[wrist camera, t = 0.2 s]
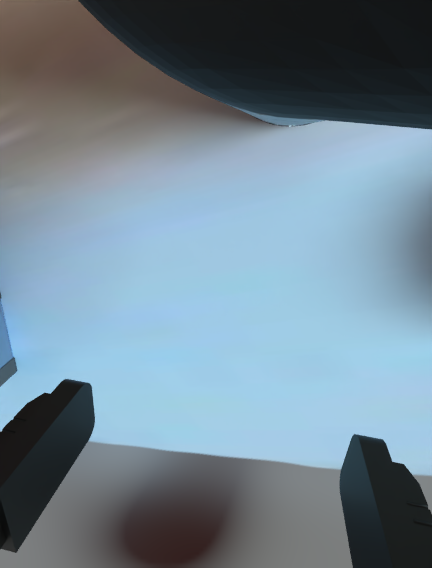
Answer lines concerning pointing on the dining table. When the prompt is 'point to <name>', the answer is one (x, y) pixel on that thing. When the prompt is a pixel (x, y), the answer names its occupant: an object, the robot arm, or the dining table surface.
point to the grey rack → (5, 351)
